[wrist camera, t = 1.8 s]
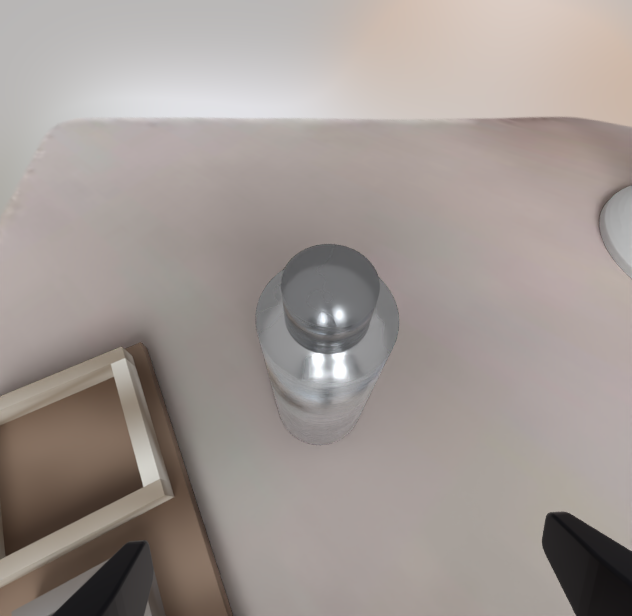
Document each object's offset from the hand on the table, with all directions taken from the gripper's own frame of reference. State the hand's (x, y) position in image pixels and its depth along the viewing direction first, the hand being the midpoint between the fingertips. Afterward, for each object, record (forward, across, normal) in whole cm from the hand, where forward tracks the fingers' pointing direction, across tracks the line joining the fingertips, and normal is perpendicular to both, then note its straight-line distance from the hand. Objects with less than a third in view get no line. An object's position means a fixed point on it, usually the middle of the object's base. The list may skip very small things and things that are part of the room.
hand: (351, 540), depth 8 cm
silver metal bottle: (+14, 0, +4) cm, 14 cm away
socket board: (+10, +12, +8) cm, 17 cm away
